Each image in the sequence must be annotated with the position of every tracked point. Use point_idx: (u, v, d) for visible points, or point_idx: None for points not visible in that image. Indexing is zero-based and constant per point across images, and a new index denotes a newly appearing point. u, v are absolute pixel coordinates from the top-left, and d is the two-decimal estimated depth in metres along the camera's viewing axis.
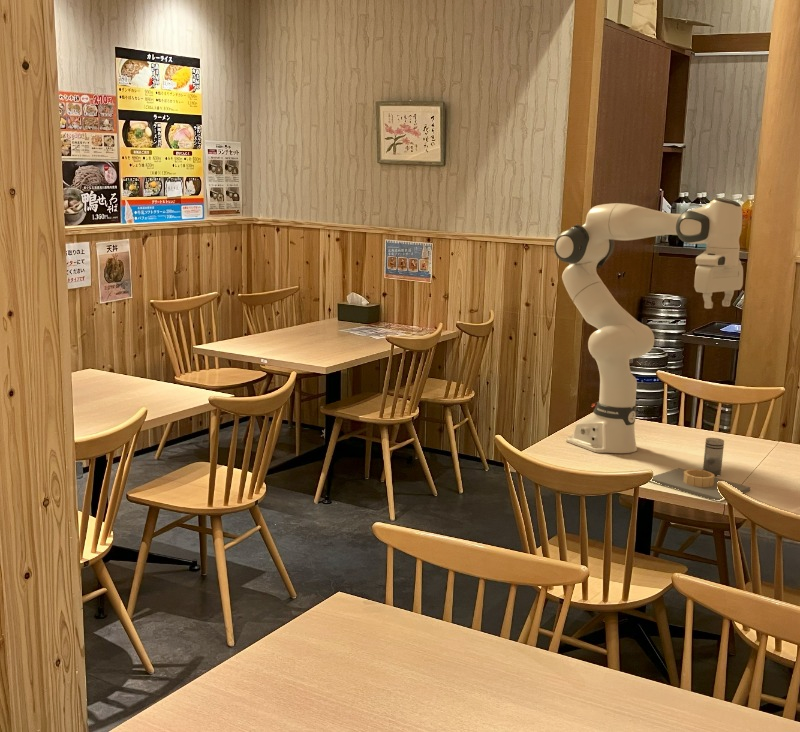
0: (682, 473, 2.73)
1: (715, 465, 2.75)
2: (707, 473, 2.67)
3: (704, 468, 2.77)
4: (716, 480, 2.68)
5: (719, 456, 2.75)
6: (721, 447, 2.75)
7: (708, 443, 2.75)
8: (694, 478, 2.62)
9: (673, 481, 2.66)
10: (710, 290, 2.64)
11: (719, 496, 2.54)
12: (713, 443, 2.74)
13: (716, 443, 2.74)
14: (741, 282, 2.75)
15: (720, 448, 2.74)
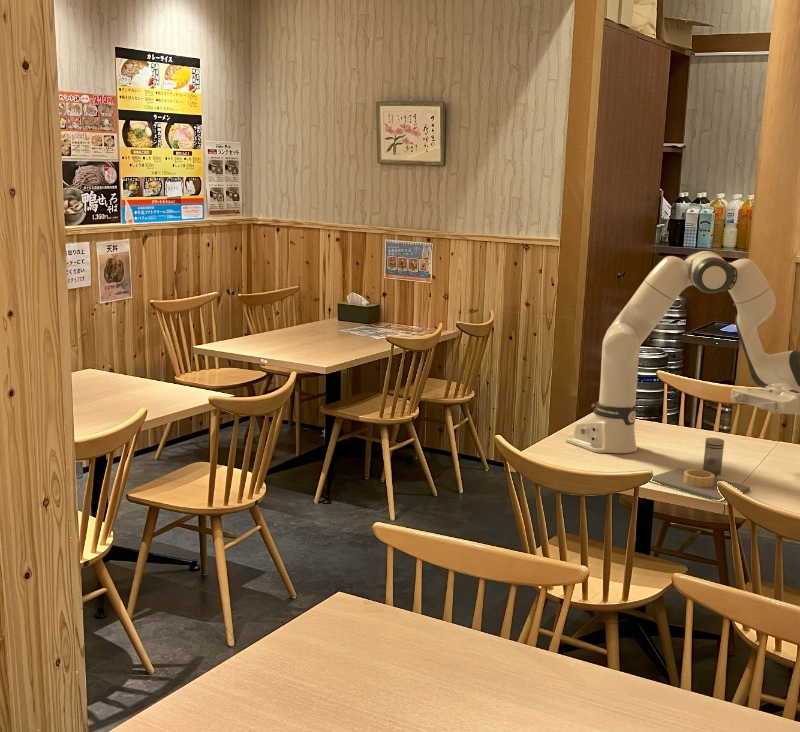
0: (682, 473, 2.73)
1: (715, 465, 2.75)
2: (707, 473, 2.67)
3: (704, 468, 2.77)
4: (716, 480, 2.68)
5: (719, 456, 2.75)
6: (721, 447, 2.74)
7: (708, 443, 2.75)
8: (694, 478, 2.62)
9: (673, 481, 2.66)
10: (780, 412, 2.78)
11: (719, 496, 2.54)
12: (713, 443, 2.74)
13: (716, 443, 2.74)
14: None
15: (720, 448, 2.74)
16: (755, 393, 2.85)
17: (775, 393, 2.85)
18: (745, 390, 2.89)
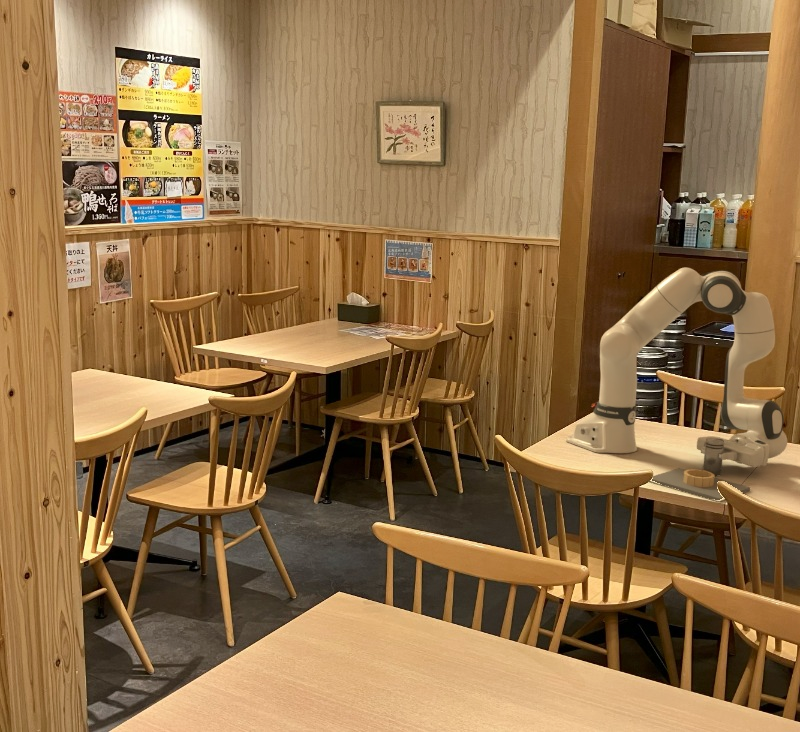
0: (682, 473, 2.73)
1: (715, 465, 2.75)
2: (707, 473, 2.67)
3: (704, 468, 2.77)
4: (716, 480, 2.68)
5: None
6: (721, 447, 2.74)
7: (708, 443, 2.75)
8: (694, 478, 2.62)
9: (673, 481, 2.66)
10: (745, 464, 2.73)
11: (719, 496, 2.54)
12: (713, 443, 2.74)
13: (716, 443, 2.74)
14: None
15: (720, 448, 2.74)
16: None
17: (741, 443, 2.80)
18: None
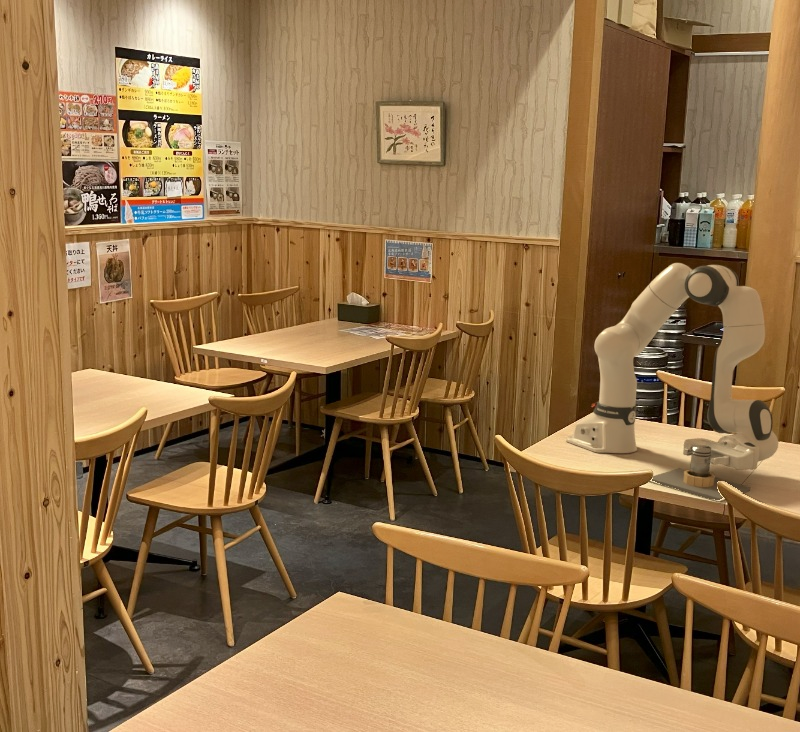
0: (682, 473, 2.73)
1: (702, 473, 2.63)
2: None
3: None
4: (716, 480, 2.68)
5: (706, 464, 2.62)
6: (708, 454, 2.62)
7: (694, 450, 2.63)
8: (694, 478, 2.62)
9: (673, 481, 2.66)
10: (733, 467, 2.61)
11: (719, 496, 2.54)
12: (700, 450, 2.62)
13: (703, 450, 2.62)
14: None
15: (707, 456, 2.62)
16: (708, 445, 2.68)
17: (730, 446, 2.68)
18: (698, 441, 2.72)
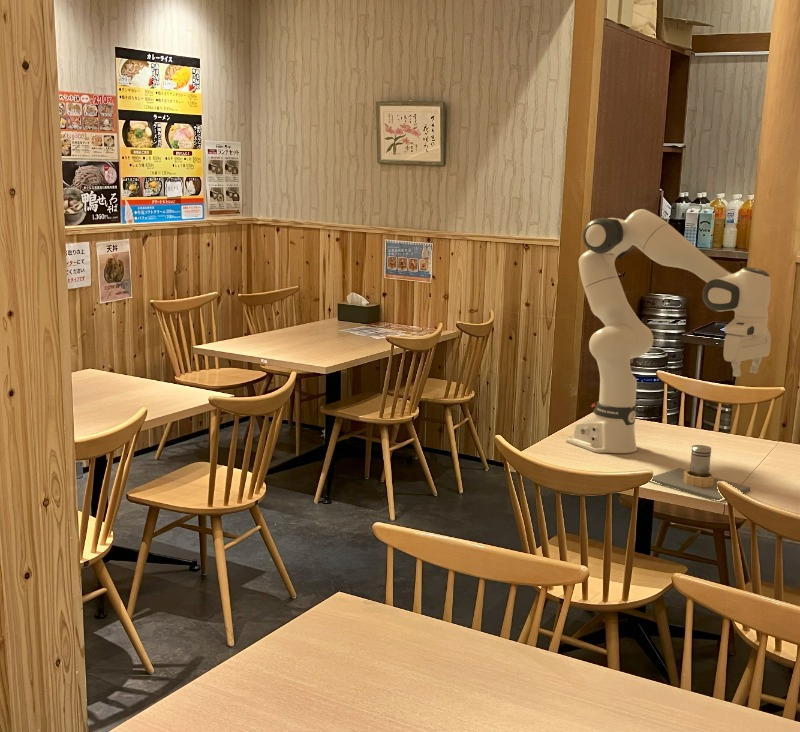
0: (682, 473, 2.73)
1: (702, 473, 2.63)
2: None
3: None
4: (716, 480, 2.68)
5: (706, 464, 2.62)
6: (708, 454, 2.62)
7: (694, 450, 2.63)
8: (694, 478, 2.62)
9: (673, 481, 2.66)
10: (739, 359, 2.66)
11: (719, 496, 2.54)
12: (700, 450, 2.62)
13: (703, 450, 2.62)
14: (769, 349, 2.77)
15: (707, 456, 2.62)
16: None
17: None
18: None
